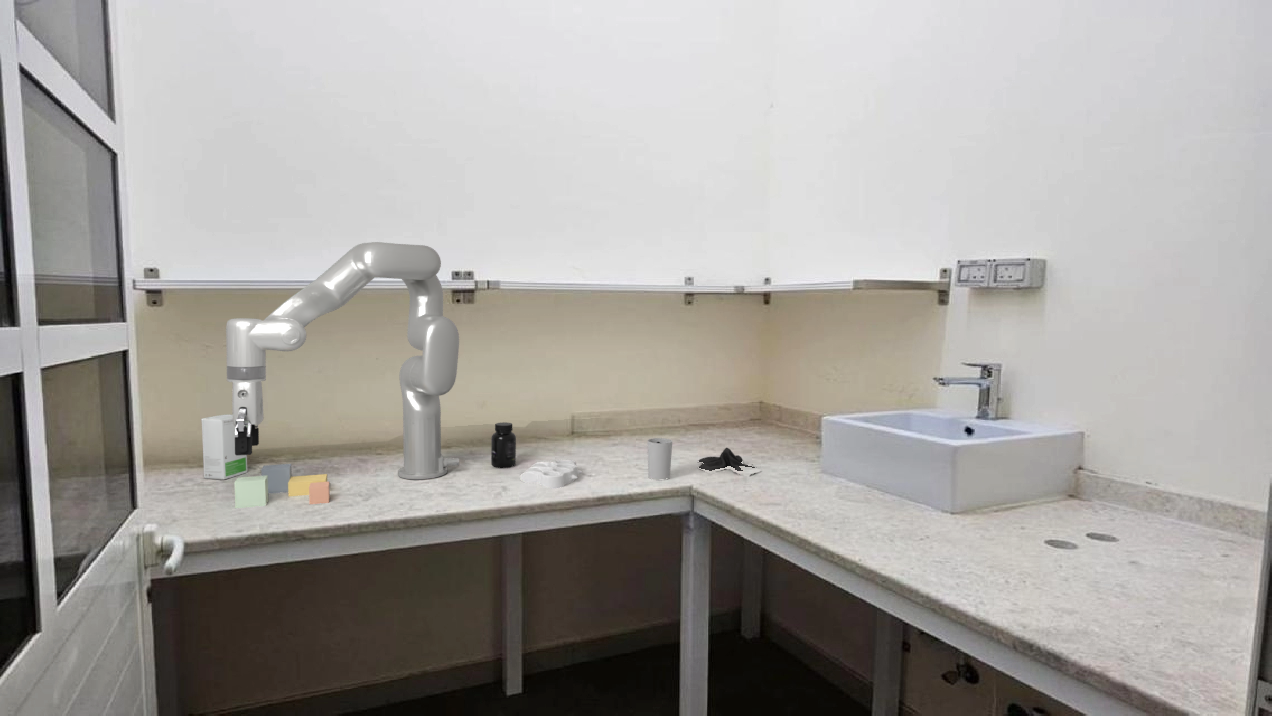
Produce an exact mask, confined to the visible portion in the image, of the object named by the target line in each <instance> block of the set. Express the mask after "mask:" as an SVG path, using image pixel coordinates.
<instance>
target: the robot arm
mask: <svg viewBox="0 0 1272 716" xmlns="http://www.w3.org/2000/svg"><path fill="white" fill-rule="evenodd" d="M441 265H442V261H441V256H440V255H439V253H438V252H437V251H436V250H435V249H434V248H432V247H430V246H429V245H425V244H424V245H423V244H422V245H421V244H407V243H405V244H404V243H394V242H393V243H391V242H381V241H373V242H372V241H371V242H363V243H358V244H357V245H355V246H353V247H352V248H351V249H350V250H348V251H347V252H346V253H345V254H344V255H342V256H341V257H340V258H339V259H338V260H337V261H336V262H335V263H333V264H332V265H331V266H330V267H329V268H328V269H326V270H325V271H324V272H323V273H321V275H320V276H318V277H317V278H315V279H314V280H313V281H312V282H310V283H309V284H307V285H306V286H304V287H303V288H302V289H300V290H299V291H297V293H295V294H294V295H291V297H289V298H288V299H287V300H285V301H284V302H283V303H282V304H280V305H279V306H278V307H277V308H276V309H274V310H273V311H272V312H271V313H270V314H269V315H268V316H266V317H265V318H264V319H260V318H250V317H249V318H248V317H247V318H246V317H241V318H240V317H238V318H237V317H236V318H230V319H228V320H227V322H226V328H225V335H226V336H225V339H226V341H225V342H226V345H225V346H226V347H225V348H226V381H227V382H229V383H232V391H231V392H232V398H231V399H232V400H231V401H232V403H231V405H232V406H231V407H232V409H231V410H232V414H231V415H233V425H234V426H236V432H235V455H247V456H250V455H252V454H253V447H257V446H258V445H259V444H260V438H259V437H260V433H259V432H260V431H259V430H260V429H259V425H260V424H261V423H262V422H263V421H264V418H265V417H264V399H263V397H264V396H263V395H264V394H263V383H262V382H264V381H266V380H267V374H266V373H267V369H266V367H267V365H266V363H267V362H266V361H267V360H266V359H267V356H266V351H278V352H293V351H297V350H298V349H300V348H301V347H302V346H303V345H304V344H305V342H306V340H307V331H306V329H305V327H306V326H308V325H309V324H311V323H312V322H313V321H315V320H316V319H318V318H320V317H321V316H324V315H326V314H329V313H332V312H334V311H337V310H338V309H340V308H342V307H344V306H345V305H347V304H348V303H349V301H351V300H352V299H354V297H355V296H356V295H357V294H358V293H359V292H361V291H362V289H364V288H365V287H366V286H367V285H368V284H369V283H370V282H372V281H373V280H374V279H375V278H376V279H377V278H380V279H393V280H394V279H396V280H398V279H399V280H402V282H403V283H404V285H405V286H406V288H407V290H408V296H409V308H408V319H407V320H408V321H407V329H406V331H407V332H406V333H407V335H406V337H407V342H408V344H409V345H410V346H411V347H412V348H414V349H415V350H420V351H422V355H414V356H412V357H409V358H407V359H406V360H405V361H403V363H402V364H401V367H400V369H399V386H400V390H401V398H402V415H403V416H402V422H403V423H402V425H403V426H402V428H403V441H402V442H403V466H402V467H400V468H399V469H398V470H397V476H398V477H400V478H401V479H407V480H427V479H428V480H429V479H435V478H439V477H441V476H444V475H446V474H447V473H448V468H447V467H448V466H459V465H460V459H459V457H455V458H454V457H444V456H443V454H442V437H441V435H442V434H441V432H442V431H441V430H442V426H441V422H442V421H441V415H442V411H441V410H442V409H441V408H442V407H441V399H440V396H444V395H446V394H447V393H449V392H451V390H452V388H453V387H454V385H455V384H456V379H457V373H458V363H459V349H460V334H459V330H458V327H457V325H456V324H455V323H454V321H452V319H451V318H449V317H446V316H444V291H443V286H442V283H441V281H440V279H439V278H438V276H437V274H438V273H439V272H440V269H441V267H442V266H441Z"/></svg>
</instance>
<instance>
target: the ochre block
mask: <svg viewBox="0 0 1272 716" xmlns="http://www.w3.org/2000/svg"><path fill="white" fill-rule="evenodd" d="M317 482H328V474H327V473H324V474H323V473H322V474H310V475H307V474H306V475H295V476H292V477H291V478H290V480H289V482H288V492H287V493H288V497H298V496H299V497H300V496H309V486H310V483H317Z"/></svg>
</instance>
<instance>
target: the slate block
mask: <svg viewBox="0 0 1272 716" xmlns="http://www.w3.org/2000/svg"><path fill="white" fill-rule="evenodd" d="M260 471H261V475H260V476H267V475H268V495H269V493H271V494H281V493H280V492H283V493H288V482H289V480H290V478H291V477H293V476H292V475H293V474H292V472H293V471H292V463H282V464H269V465H263V466H262V467H261V469H260Z"/></svg>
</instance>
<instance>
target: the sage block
mask: <svg viewBox="0 0 1272 716" xmlns="http://www.w3.org/2000/svg"><path fill="white" fill-rule="evenodd" d="M267 502H269V494H268V475H267V476H261V475H257V476H256V475H255V476H254V475H253V476H243V477H241V476H240V477H237V478H236V480H235V481H234V508H235V509H246V507H247V508H256V507H255V506H259V507H266V506H267V505H268V503H267ZM266 504H267V505H266ZM265 505H266V506H265Z"/></svg>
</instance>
